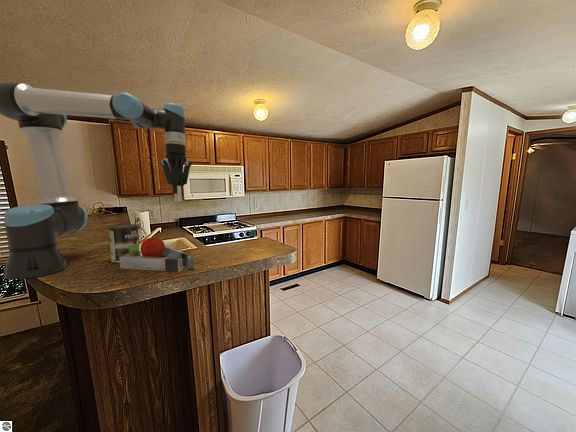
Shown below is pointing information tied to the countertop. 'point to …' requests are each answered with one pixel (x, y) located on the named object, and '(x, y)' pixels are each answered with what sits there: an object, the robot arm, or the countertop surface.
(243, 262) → the countertop surface
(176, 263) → the long grey bar
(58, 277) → the countertop surface
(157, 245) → the apple
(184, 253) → the jaw
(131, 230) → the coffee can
